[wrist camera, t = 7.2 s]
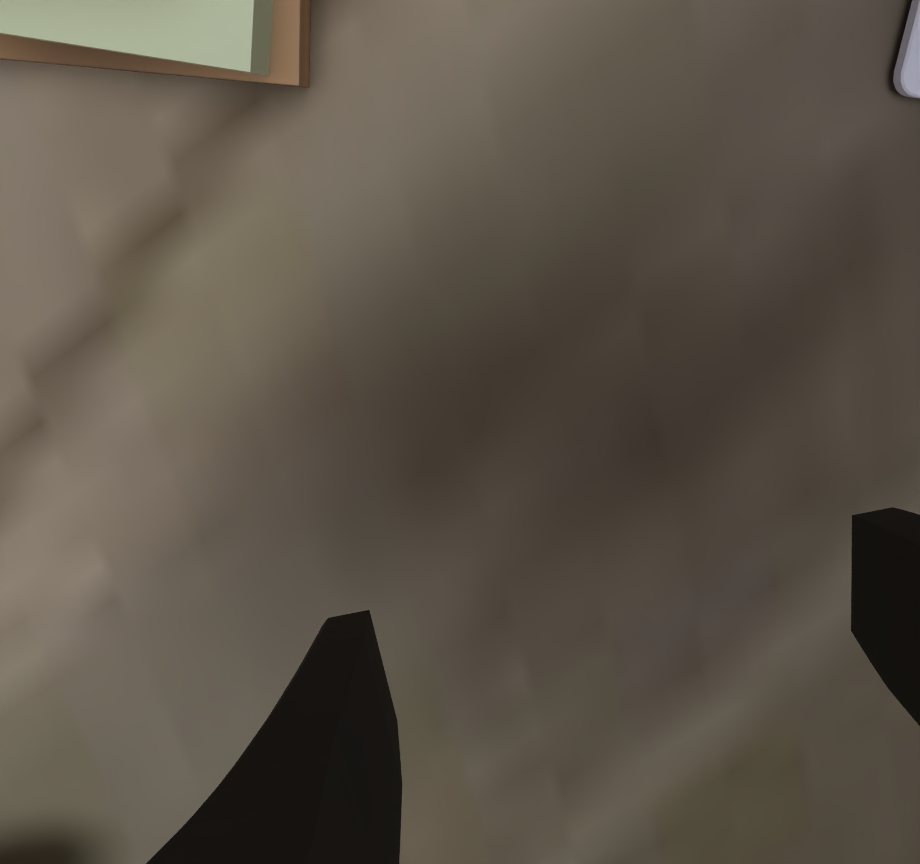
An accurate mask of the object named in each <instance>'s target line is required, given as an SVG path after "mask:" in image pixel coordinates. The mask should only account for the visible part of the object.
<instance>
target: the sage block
mask: <svg viewBox="0 0 920 864" xmlns="http://www.w3.org/2000/svg"><path fill="white" fill-rule="evenodd" d="M273 1H274V0H0V34H3V35H10V36H16V37H22V38H29V39H35V40H41V41H48V42H54V43H60V44H67V45H73V46H80V47H86V48H92V49H99V50H105V51H111V52H118V53H124V54H130V55H137V56H143V57H149V58H156V59H162V60H168V61H175V62H181V63H187V64H194V65H200V66H206V67H213V68H219V69H226V70H232V71H238V72H245V73H251V74H257V75H264V76H269V69H270V52H271V35H272V18H273Z"/></svg>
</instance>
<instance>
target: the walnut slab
mask: <svg viewBox="0 0 920 864" xmlns="http://www.w3.org/2000/svg"><path fill="white" fill-rule="evenodd" d="M310 15H311V0H274V1H273V18H272V35H271V52H270V69H269V76H264V75H257V74H251V73H245V72H238V71H232V70H226V69H219V68H213V67H206V66H200V65H194V64H187V63H181V62H175V61H168V60H162V59H156V58H149V57H143V56H137V55H130V54H124V53H118V52H111V51H105V50H99V49H92V48H86V47H80V46H73V45H67V44H60V43H54V42H48V41H41V40H35V39H29V38H22V37H16V36H10V35H3V34H0V59H4V60H15V61H26V62H37V63H48V64H59V65H70V66H81V67H92V68H103V69H113V70H124V71H135V72H146V73H157V74H168V75H179V76H190V77H201V78H212V79H223V80H234V81H244V82H255V83H266V84H277V85H288V86H299V87H309V72H310Z"/></svg>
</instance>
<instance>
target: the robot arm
mask: <svg viewBox="0 0 920 864" xmlns="http://www.w3.org/2000/svg"><path fill="white" fill-rule="evenodd" d="M893 82H894V86H895V89H896V90H897V91H898V92H899V93H900V94H901V95H903V96H906V97H911V98H920V0H912V3H911V7H910V11H909V15H908V19H907V23H906V27H905V31H904V34H903V38H902V42H901V46H900V50H899V54H898V58H897V62H896V66H895V70H894V77H893ZM851 631H852V633H853V634H854V636H855V638H856V639H857V641H858V643H859V644H860V646H861V647H862V649H863V651H864V652H865V654H866V655H867V657H868V659H869V660H870V662H871V663H872V665H873V666H874V668H875V669H876V671H877V672H878V674H879V675H880V677H881V678H882V680H883V681H884V683H885V684H886V686H887V687H888V689H889V690H890V691H891V692H892V693H893V695H894V696H895V697H896V698H897V700H898V701H899V702H900V703H901V704H902V706H903V707H904V708H905V709H906V710H907V711H908V713H909V714H910V715H911V716H912V717H913V719H914V720H915V721H916V722H917V723H918V724H919V726H920V515H918V514H915V513H912V512H908V511H905V510H901V509H897V508H893V507H892V508H887V509H882V510H877V511H872V512H867V513H862V514H857V515H852V591H851ZM401 804H402V776H401V762H400V749H399V737H398V725H397V718H396V714H395V710H394V706H393V702H392V698H391V694H390V690H389V686H388V683H387V679H386V675H385V671H384V667H383V663H382V659H381V655H380V651H379V647H378V643H377V639H376V635H375V631H374V627H373V623H372V619H371V615H370V611H369V610H367V611H361V612H356V613H351V614H346V615H341V616H336V617H331V618H328V619H327V620H326V622H325V623H324V624H323V626H322V627H321V629H320V631H319V633H318V634H317V636H316V638H315V640H314V642H313V643H312V645H311V647H310V649H309V651H308V652H307V654H306V656H305V658H304V659H303V661H302V663H301V665H300V666H299V668H298V670H297V672H296V673H295V675H294V677H293V678H292V680H291V682H290V683H289V685H288V686H287V688H286V690H285V691H284V693H283V694H282V696H281V698H280V699H279V701H278V702H277V704H276V706H275V707H274V709H273V710H272V712H271V714H270V715H269V717H268V718H267V720H266V721H265V723H264V724H263V726H262V727H261V728H260V730H259V731H258V733H257V734H256V736H255V737H254V738H253V740H252V741H251V743H250V744H249V745H248V747H247V748H246V750H245V751H244V752H243V754H242V755H241V757H240V758H239V760H238V761H237V762H236V764H235V765H234V766H233V768H232V769H231V770H230V772H229V773H228V774H227V775H226V777H225V778H224V779H223V781H222V782H221V783H220V784H219V786H218V787H217V788H216V789H215V791H214V792H213V793H212V794H211V795H210V796H209V798H208V799H207V800H206V801H205V802H204V803H203V805H202V806H201V807H200V808H199V809H198V810H197V811H196V813H195V814H194V815H193V816H192V817H191V818H190V819H189V820H188V822H187V823H186V824H185V825H184V826H183V827H182V828H181V829H180V830H179V831H178V832H177V833H176V834H175V835H174V836H173V837H172V838H171V839H170V840H169V841H168V842H167V843H166V844H165V845H164V846H163V847H162V848H161V849H160V850H159V851H158V852H157V853H156V854H155V855H154V856H153V857H152V858H151V859H150V860H149V861H148V862H147V863H146V864H399V854H400V830H401Z"/></svg>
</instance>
